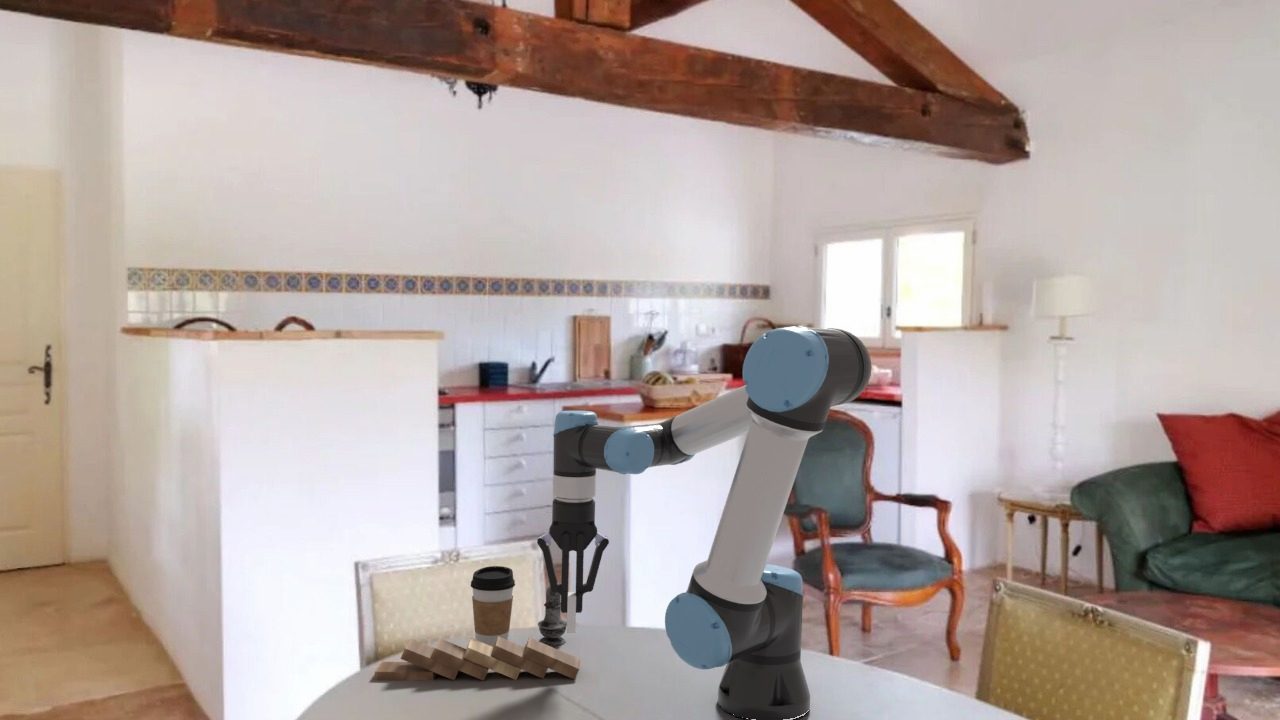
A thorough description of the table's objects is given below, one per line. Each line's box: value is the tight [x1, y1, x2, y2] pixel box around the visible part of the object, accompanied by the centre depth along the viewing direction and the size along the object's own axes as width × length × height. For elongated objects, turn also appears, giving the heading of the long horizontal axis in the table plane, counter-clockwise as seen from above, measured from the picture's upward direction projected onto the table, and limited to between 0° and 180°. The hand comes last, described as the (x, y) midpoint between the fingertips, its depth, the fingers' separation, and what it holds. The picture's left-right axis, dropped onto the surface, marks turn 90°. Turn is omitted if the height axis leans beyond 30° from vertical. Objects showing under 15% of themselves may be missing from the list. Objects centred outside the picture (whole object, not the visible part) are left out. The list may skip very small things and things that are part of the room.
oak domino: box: [463, 637, 522, 681], centre depth 166 cm, size 2×5×10 cm
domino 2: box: [400, 638, 460, 681], centre depth 165 cm, size 2×5×10 cm
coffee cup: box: [470, 565, 516, 647], centre depth 179 cm, size 8×8×15 cm
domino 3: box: [430, 637, 490, 681], centre depth 165 cm, size 2×5×10 cm
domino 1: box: [374, 661, 438, 681], centre depth 165 cm, size 2×5×10 cm
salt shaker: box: [537, 585, 567, 647], centre depth 184 cm, size 6×6×12 cm
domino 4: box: [491, 636, 549, 679], centre depth 167 cm, size 2×5×10 cm
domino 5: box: [523, 637, 581, 681], centre depth 167 cm, size 2×5×10 cm
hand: (570, 630), depth 167 cm, fingers closed
